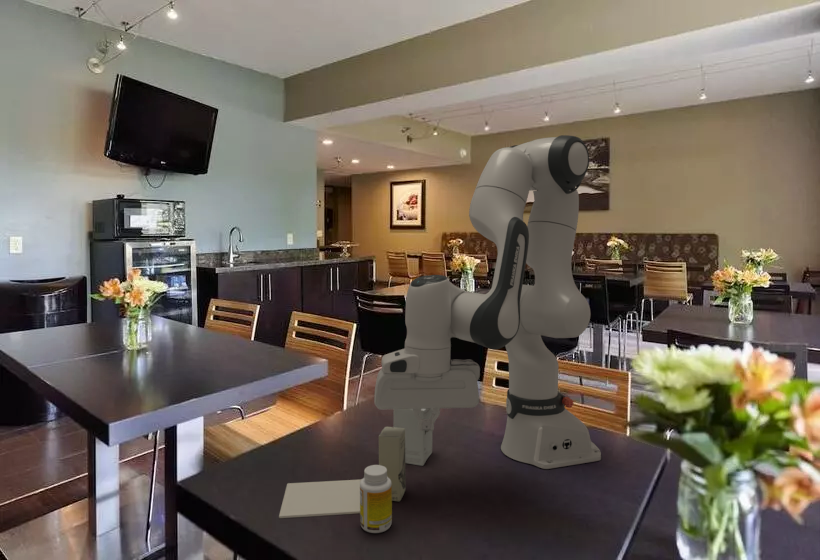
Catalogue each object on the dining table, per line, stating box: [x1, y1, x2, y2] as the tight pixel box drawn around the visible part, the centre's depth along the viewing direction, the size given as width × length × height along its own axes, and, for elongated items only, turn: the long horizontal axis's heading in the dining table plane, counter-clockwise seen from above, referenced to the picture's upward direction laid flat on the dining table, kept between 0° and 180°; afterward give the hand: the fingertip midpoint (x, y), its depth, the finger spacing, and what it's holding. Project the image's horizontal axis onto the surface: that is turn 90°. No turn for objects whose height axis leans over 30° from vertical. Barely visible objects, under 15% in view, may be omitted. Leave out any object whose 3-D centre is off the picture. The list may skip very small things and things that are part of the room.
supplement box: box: [392, 409, 433, 467], centre depth 116 cm, size 7×7×13 cm
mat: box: [278, 478, 363, 519], centre depth 99 cm, size 18×12×1 cm, turn 96°
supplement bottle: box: [359, 464, 393, 534], centre depth 89 cm, size 6×6×10 cm
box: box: [378, 426, 407, 502], centre depth 100 cm, size 5×4×13 cm
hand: (425, 429), depth 99 cm, fingers closed
